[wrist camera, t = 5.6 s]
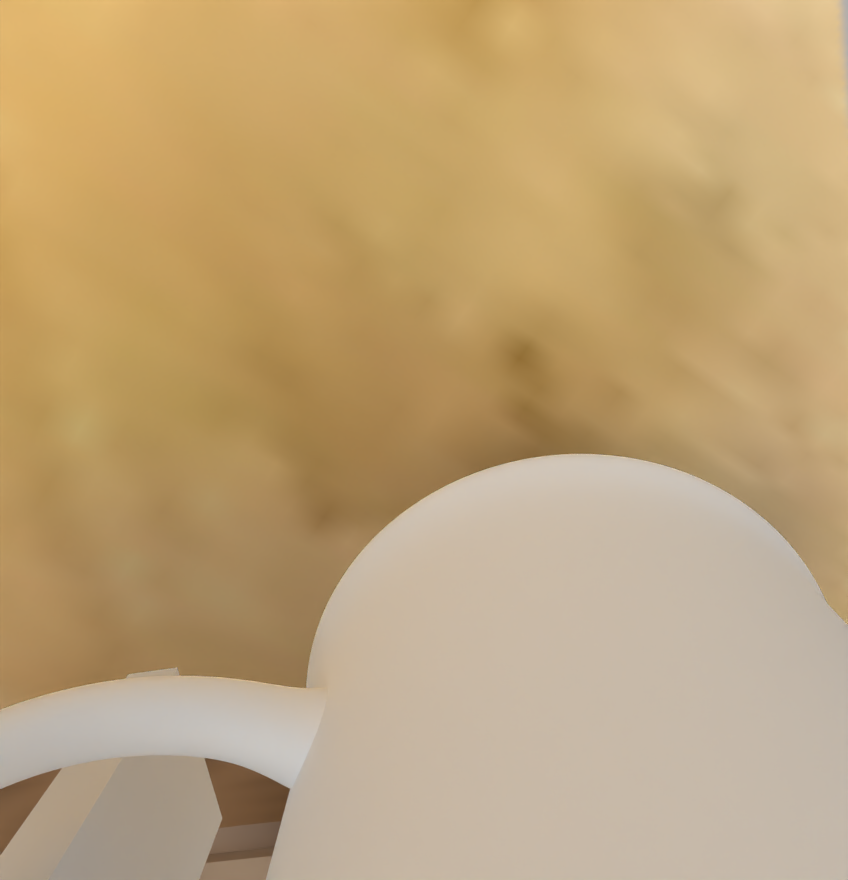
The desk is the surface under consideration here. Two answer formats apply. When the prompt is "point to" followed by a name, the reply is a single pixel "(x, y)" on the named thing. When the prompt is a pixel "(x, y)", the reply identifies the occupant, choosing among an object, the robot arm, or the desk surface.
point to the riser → (240, 832)
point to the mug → (528, 694)
